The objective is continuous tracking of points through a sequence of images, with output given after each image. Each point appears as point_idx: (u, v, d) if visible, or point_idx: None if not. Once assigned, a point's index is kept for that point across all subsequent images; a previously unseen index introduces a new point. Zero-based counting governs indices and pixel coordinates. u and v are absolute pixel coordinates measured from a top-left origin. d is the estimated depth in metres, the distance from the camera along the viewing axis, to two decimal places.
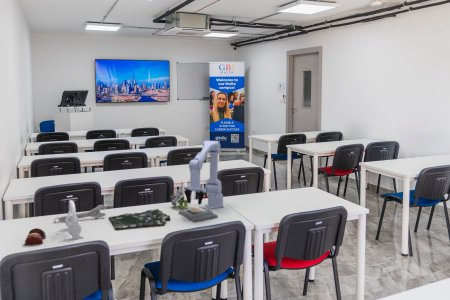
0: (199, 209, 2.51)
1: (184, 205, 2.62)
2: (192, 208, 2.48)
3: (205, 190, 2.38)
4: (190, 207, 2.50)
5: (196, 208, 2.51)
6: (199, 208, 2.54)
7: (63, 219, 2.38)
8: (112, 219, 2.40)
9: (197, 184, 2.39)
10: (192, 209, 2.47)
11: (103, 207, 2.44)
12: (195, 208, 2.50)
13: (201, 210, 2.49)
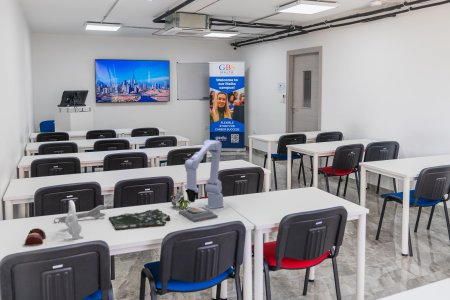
0: (199, 209, 2.51)
1: (184, 205, 2.62)
2: (192, 208, 2.48)
3: (198, 190, 2.41)
4: (190, 207, 2.50)
5: (196, 208, 2.51)
6: (199, 208, 2.54)
7: (63, 219, 2.38)
8: (112, 219, 2.40)
9: (192, 183, 2.43)
10: (192, 209, 2.47)
11: (103, 207, 2.44)
12: (195, 208, 2.50)
13: (201, 210, 2.49)
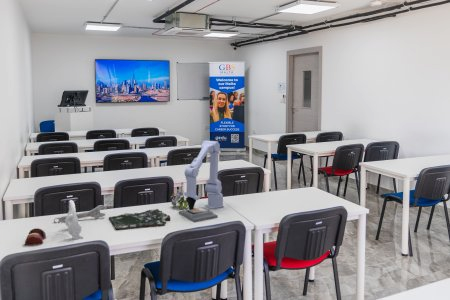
0: (199, 209, 2.51)
1: (184, 205, 2.62)
2: None
3: (197, 198, 2.41)
4: None
5: (196, 208, 2.51)
6: (199, 208, 2.54)
7: (63, 219, 2.38)
8: (112, 219, 2.40)
9: (191, 191, 2.44)
10: (192, 209, 2.47)
11: (103, 207, 2.44)
12: (195, 208, 2.50)
13: (201, 210, 2.49)
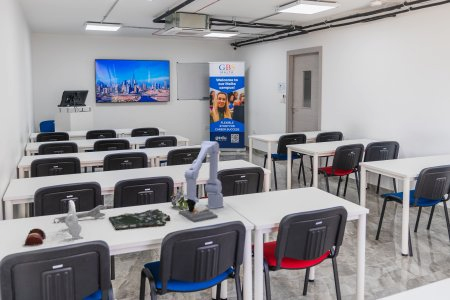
0: (198, 209, 2.50)
1: (184, 205, 2.62)
2: None
3: (197, 200, 2.41)
4: None
5: (195, 209, 2.50)
6: (198, 206, 2.54)
7: (63, 219, 2.38)
8: (112, 219, 2.40)
9: (191, 193, 2.44)
10: (191, 213, 2.47)
11: (103, 207, 2.44)
12: (194, 209, 2.50)
13: (200, 210, 2.48)
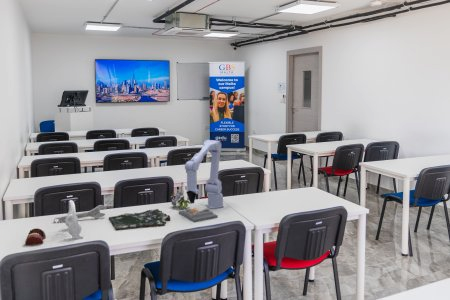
0: (198, 209, 2.50)
1: (184, 205, 2.62)
2: (191, 211, 2.48)
3: (198, 192, 2.41)
4: (189, 210, 2.50)
5: (195, 209, 2.50)
6: (198, 206, 2.54)
7: (63, 219, 2.38)
8: (112, 219, 2.40)
9: (192, 185, 2.44)
10: (191, 213, 2.47)
11: (103, 207, 2.44)
12: (194, 209, 2.50)
13: (200, 210, 2.48)
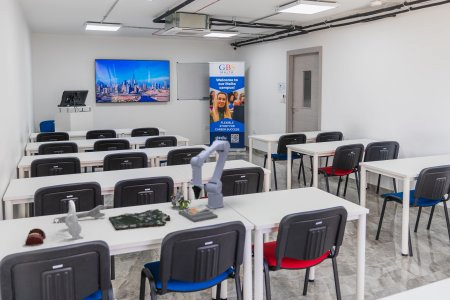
0: (198, 209, 2.50)
1: (184, 205, 2.62)
2: (191, 211, 2.48)
3: (203, 186, 2.49)
4: (189, 210, 2.50)
5: (195, 209, 2.50)
6: (198, 206, 2.54)
7: (63, 219, 2.38)
8: (112, 219, 2.40)
9: (197, 180, 2.52)
10: (191, 213, 2.47)
11: (103, 207, 2.44)
12: (194, 209, 2.50)
13: (200, 210, 2.48)
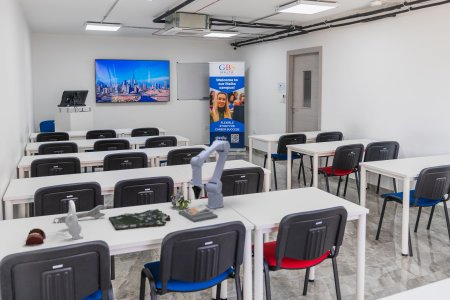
0: (198, 209, 2.50)
1: (184, 205, 2.62)
2: (191, 211, 2.48)
3: (203, 186, 2.49)
4: (189, 210, 2.50)
5: (195, 209, 2.50)
6: (198, 206, 2.54)
7: (63, 219, 2.38)
8: (112, 219, 2.40)
9: (197, 180, 2.52)
10: (191, 213, 2.47)
11: (103, 207, 2.44)
12: (194, 209, 2.50)
13: (200, 210, 2.48)
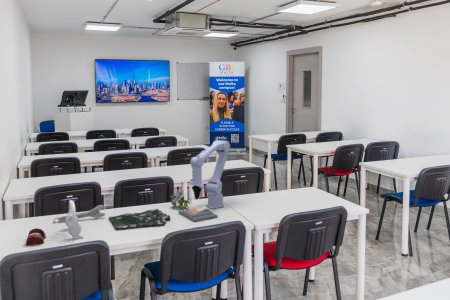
0: (198, 209, 2.50)
1: (184, 205, 2.62)
2: (191, 211, 2.48)
3: (203, 186, 2.49)
4: (189, 210, 2.50)
5: (195, 209, 2.50)
6: (198, 206, 2.54)
7: (63, 219, 2.38)
8: (112, 219, 2.40)
9: (197, 180, 2.52)
10: (191, 213, 2.47)
11: (103, 207, 2.44)
12: (194, 209, 2.50)
13: (200, 210, 2.48)
